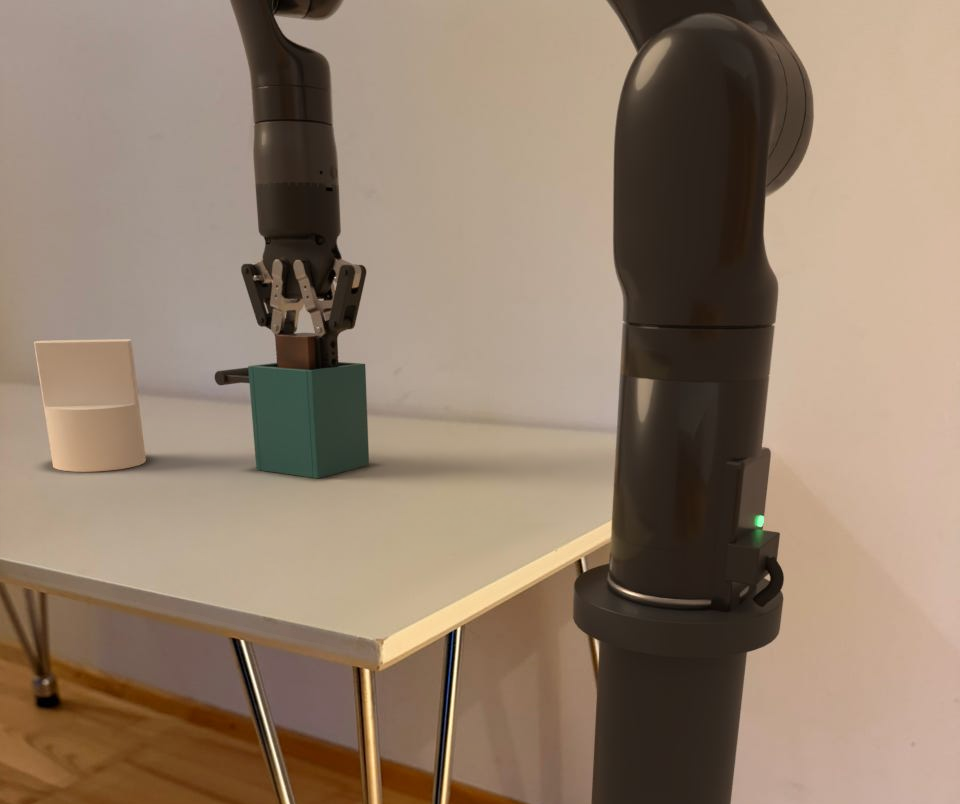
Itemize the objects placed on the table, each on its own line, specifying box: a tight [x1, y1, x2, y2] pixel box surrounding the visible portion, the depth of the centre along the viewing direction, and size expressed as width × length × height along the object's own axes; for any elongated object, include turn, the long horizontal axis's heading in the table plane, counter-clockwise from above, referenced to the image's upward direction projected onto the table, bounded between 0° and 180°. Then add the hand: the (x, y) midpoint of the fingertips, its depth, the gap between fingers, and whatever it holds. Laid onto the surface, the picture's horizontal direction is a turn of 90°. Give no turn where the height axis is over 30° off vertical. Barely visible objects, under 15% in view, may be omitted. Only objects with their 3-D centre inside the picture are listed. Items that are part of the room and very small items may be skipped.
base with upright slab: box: [33, 338, 147, 473], centre depth 99 cm, size 9×9×12 cm
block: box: [275, 332, 318, 370], centre depth 95 cm, size 4×4×4 cm
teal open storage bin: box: [214, 361, 370, 479], centre depth 98 cm, size 10×8×14 cm
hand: (308, 374), depth 96 cm, fingers closed on block, 4 cm apart
